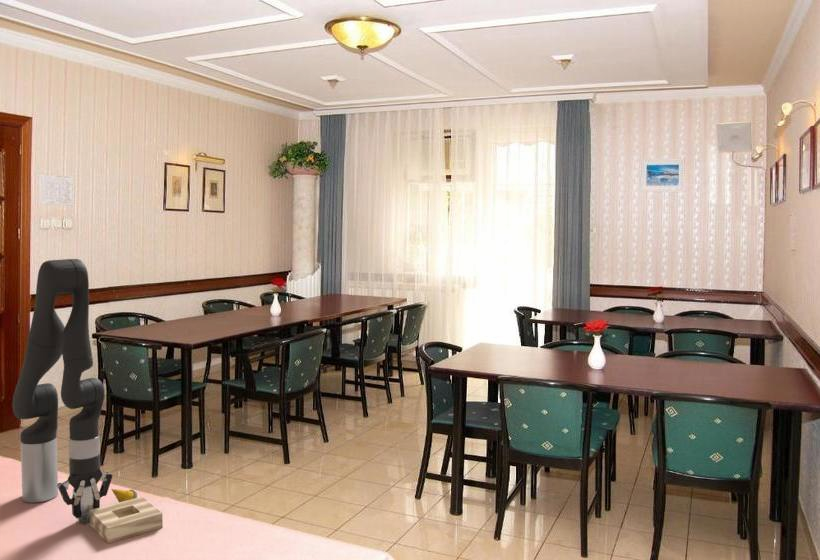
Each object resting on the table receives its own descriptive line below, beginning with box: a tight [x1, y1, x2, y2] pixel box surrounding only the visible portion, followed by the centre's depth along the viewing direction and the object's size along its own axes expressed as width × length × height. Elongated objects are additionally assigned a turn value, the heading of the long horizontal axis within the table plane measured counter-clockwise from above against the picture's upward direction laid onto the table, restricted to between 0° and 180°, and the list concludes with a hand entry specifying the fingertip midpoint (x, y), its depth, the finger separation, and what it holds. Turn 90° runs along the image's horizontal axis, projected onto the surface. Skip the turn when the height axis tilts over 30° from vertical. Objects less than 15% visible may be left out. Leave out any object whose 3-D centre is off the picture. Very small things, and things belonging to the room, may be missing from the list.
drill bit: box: [111, 488, 138, 503], centre depth 193 cm, size 5×5×10 cm
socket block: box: [89, 496, 164, 544], centre depth 182 cm, size 14×14×4 cm
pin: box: [77, 486, 94, 525], centre depth 184 cm, size 4×4×10 cm
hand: (86, 514), depth 185 cm, fingers closed on pin, 4 cm apart
